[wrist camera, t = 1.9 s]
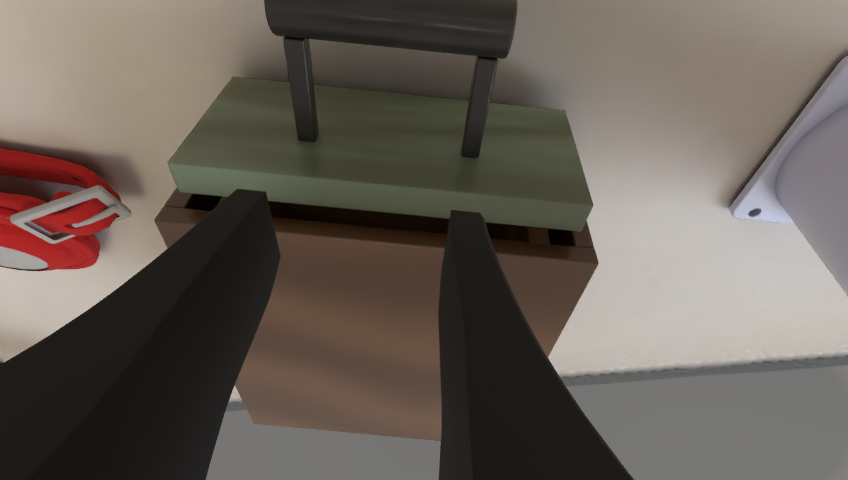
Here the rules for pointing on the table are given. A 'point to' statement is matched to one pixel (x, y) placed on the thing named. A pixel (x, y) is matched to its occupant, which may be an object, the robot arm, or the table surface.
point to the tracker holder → (54, 215)
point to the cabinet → (374, 319)
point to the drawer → (390, 131)
